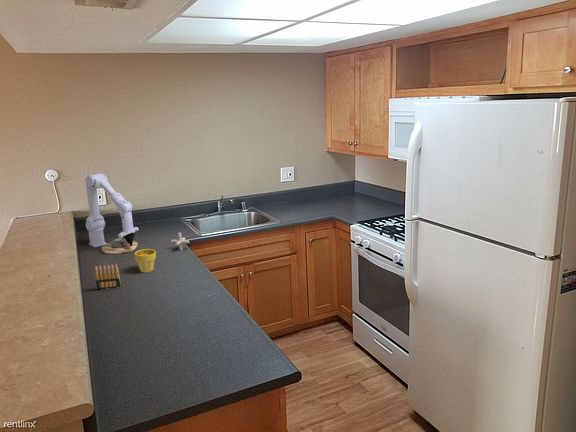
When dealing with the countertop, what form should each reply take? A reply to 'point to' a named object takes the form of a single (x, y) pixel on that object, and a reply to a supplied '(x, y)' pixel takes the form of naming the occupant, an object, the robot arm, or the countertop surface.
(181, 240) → the pipe connector
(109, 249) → the beige round shallow disc
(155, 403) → the countertop surface
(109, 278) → the ammunition clip
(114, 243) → the cover
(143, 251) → the plant pot
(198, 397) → the countertop surface
